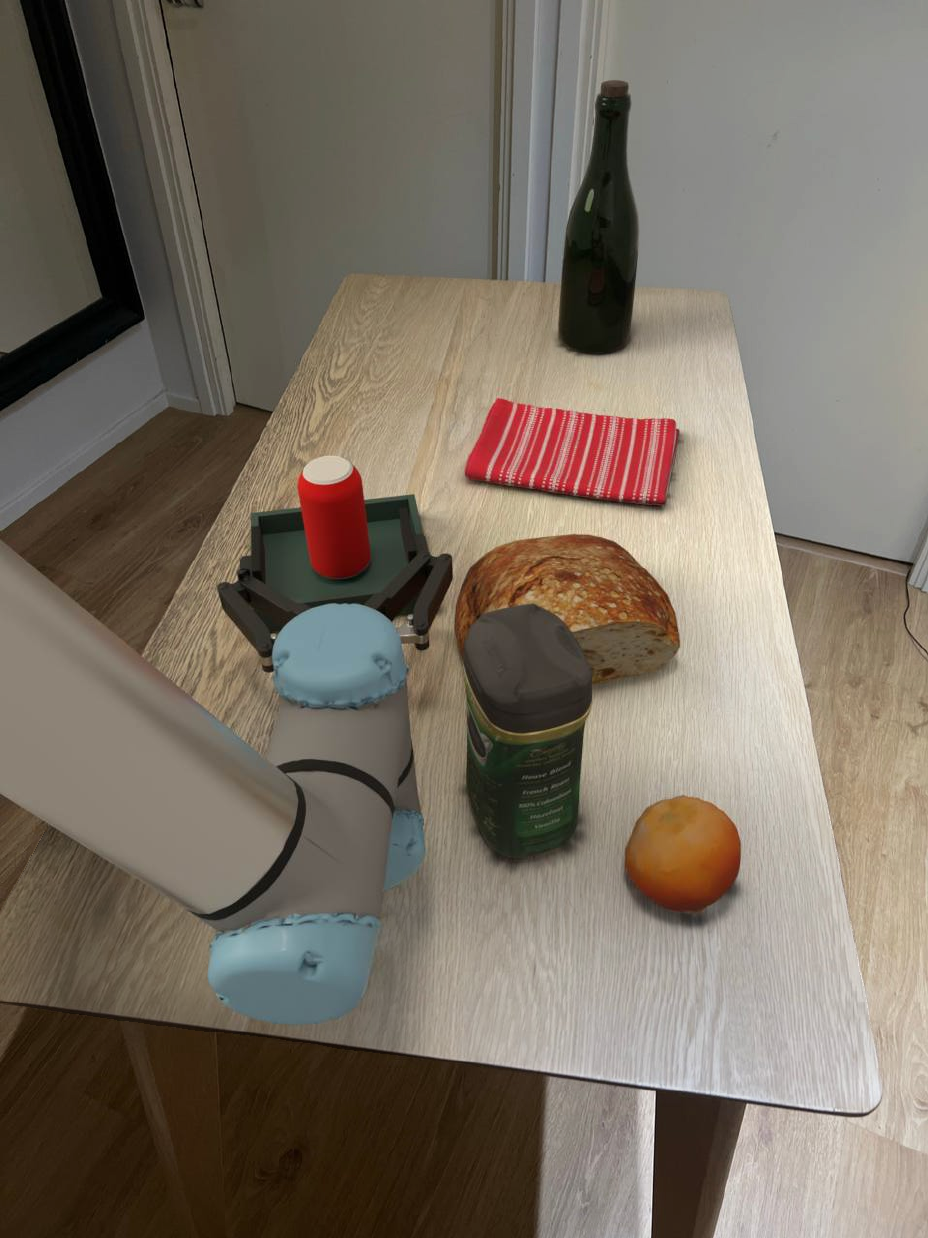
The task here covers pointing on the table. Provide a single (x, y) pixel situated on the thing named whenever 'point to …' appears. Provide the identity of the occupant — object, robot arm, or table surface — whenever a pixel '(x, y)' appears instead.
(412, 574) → the robot arm
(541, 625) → the coffee jar
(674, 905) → the fruit
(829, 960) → the table surface
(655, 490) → the dish towel
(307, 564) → the drinks tray
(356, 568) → the beverage can
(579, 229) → the wine bottle
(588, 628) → the bread
